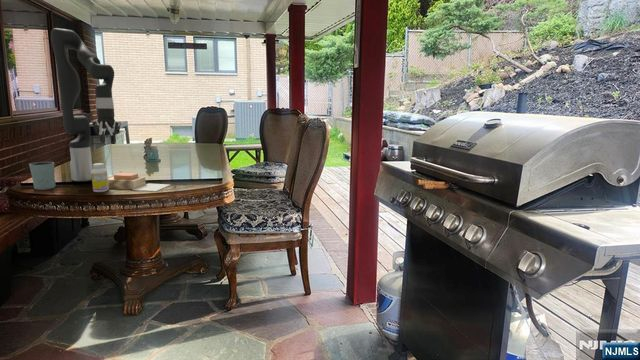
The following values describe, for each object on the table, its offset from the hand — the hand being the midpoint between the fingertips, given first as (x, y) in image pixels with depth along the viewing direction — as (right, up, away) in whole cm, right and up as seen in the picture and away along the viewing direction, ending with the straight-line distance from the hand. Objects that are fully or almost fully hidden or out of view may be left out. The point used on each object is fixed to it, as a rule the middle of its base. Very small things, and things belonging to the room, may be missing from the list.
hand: (108, 142), depth 205 cm
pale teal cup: (-30, -22, -2) cm, 37 cm away
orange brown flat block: (+8, -17, +2) cm, 19 cm away
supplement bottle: (0, -23, -6) cm, 24 cm away
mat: (+21, -22, +1) cm, 30 cm away
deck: (+5, -21, +4) cm, 22 cm away
